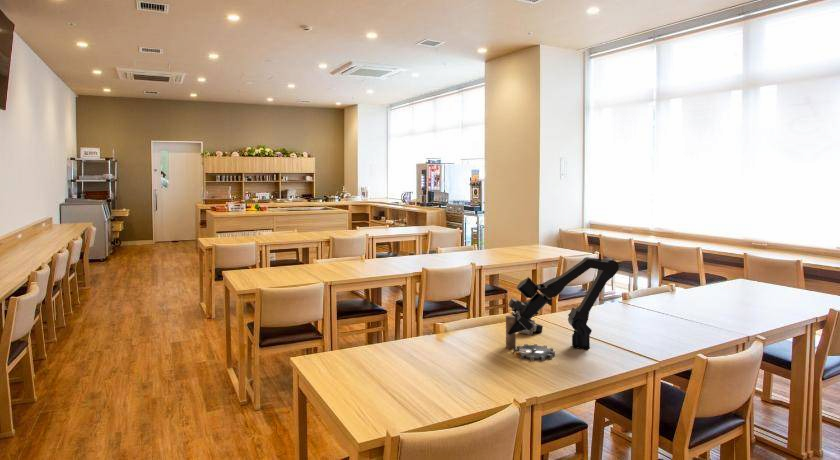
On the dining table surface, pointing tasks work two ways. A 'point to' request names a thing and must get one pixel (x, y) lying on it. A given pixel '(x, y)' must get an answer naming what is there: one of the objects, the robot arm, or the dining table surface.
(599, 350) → the dining table surface
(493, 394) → the dining table surface
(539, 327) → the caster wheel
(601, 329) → the dining table surface
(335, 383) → the dining table surface
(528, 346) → the sprocket plate
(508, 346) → the brown cylinder
